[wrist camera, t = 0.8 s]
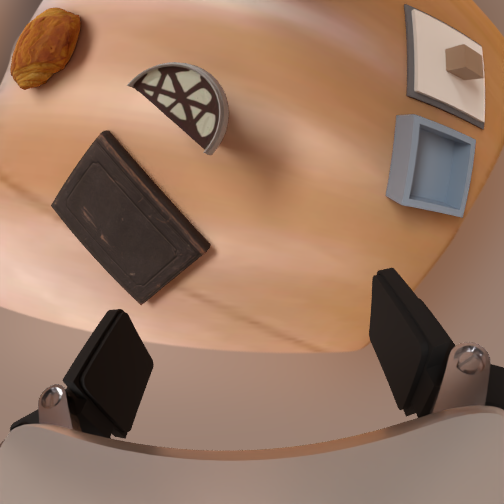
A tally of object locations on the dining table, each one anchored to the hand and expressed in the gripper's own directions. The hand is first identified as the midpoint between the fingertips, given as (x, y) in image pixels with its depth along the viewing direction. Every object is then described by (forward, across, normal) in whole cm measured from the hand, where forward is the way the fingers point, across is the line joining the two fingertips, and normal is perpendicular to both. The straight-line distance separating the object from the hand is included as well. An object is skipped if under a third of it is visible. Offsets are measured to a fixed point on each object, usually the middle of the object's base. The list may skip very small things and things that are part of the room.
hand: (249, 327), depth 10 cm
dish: (+28, -25, 0) cm, 38 cm away
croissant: (+29, +28, -33) cm, 52 cm away
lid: (+28, -34, -16) cm, 47 cm away
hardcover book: (+29, +20, +1) cm, 35 cm away
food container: (+28, +4, -12) cm, 31 cm away
